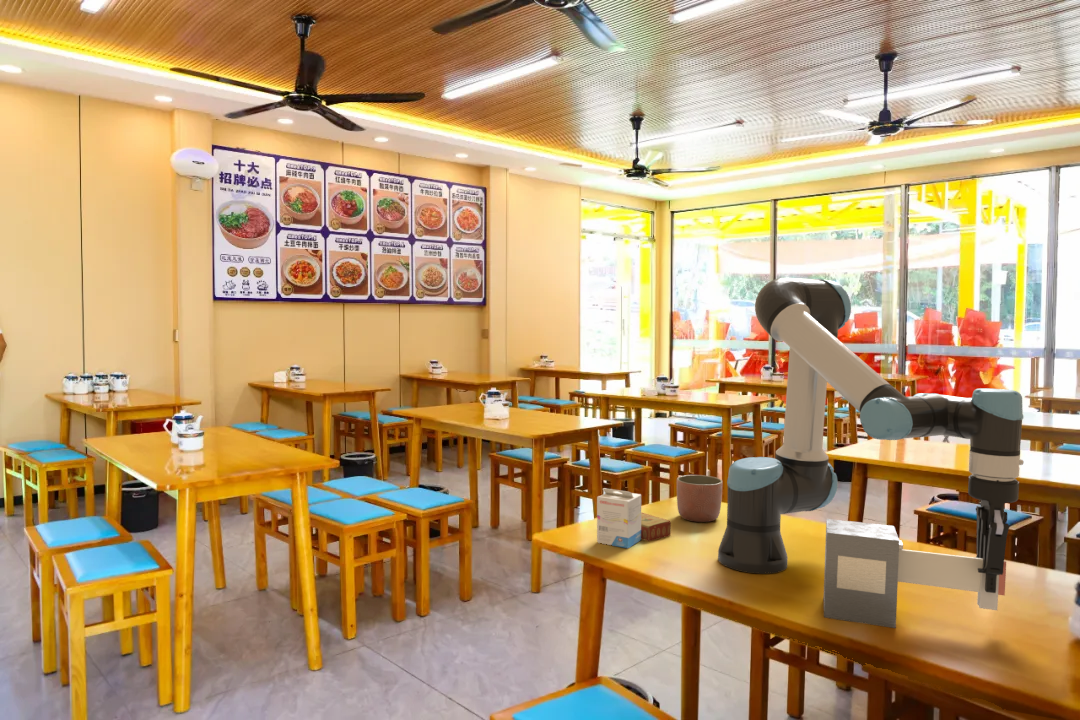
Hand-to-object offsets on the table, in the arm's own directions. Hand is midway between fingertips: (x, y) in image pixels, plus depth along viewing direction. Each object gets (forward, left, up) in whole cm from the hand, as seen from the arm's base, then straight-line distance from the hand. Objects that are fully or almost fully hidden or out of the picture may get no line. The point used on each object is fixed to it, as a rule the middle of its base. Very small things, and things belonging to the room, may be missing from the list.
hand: (987, 606), depth 127 cm
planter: (-59, +53, -5) cm, 79 cm away
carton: (-72, +35, -5) cm, 80 cm away
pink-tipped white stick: (-6, 0, +3) cm, 7 cm away
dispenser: (-21, 0, -4) cm, 21 cm away
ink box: (-74, +24, -5) cm, 78 cm away
